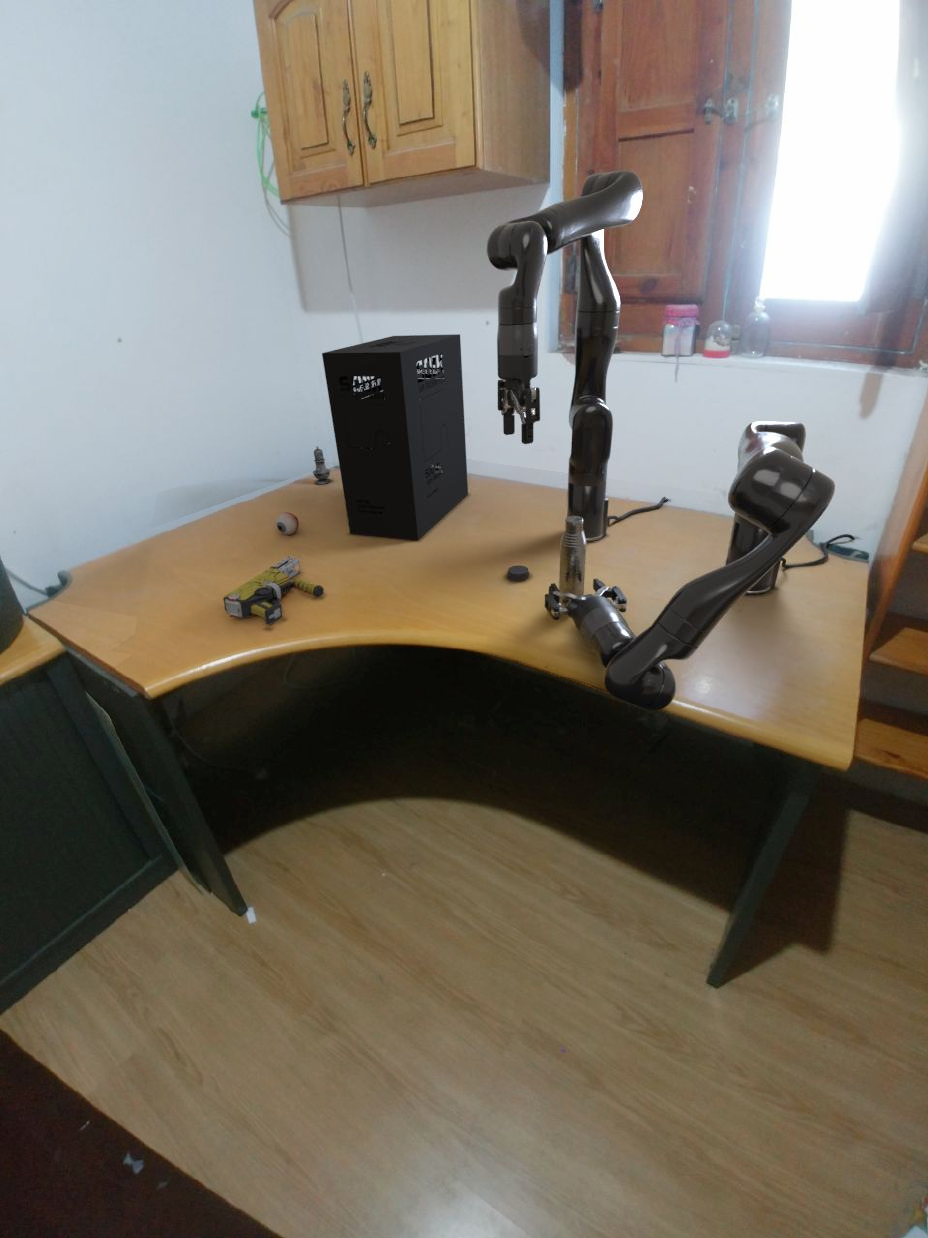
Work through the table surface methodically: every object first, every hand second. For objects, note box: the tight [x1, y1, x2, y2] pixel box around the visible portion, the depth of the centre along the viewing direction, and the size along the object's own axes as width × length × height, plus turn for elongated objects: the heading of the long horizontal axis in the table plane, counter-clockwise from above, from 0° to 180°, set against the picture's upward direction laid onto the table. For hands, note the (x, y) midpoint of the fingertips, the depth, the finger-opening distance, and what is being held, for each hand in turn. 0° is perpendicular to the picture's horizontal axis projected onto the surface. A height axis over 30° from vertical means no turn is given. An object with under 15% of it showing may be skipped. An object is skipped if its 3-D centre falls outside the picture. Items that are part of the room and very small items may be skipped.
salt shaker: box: [312, 446, 332, 485], centre depth 203 cm, size 6×6×12 cm
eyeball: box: [275, 511, 300, 536], centre depth 163 cm, size 6×6×6 cm
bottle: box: [558, 516, 587, 603], centre depth 118 cm, size 5×5×19 cm
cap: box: [507, 564, 530, 582], centre depth 135 cm, size 5×5×2 cm
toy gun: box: [222, 556, 324, 626], centre depth 131 cm, size 5×24×15 cm
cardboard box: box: [321, 333, 469, 541], centre depth 164 cm, size 38×20×45 cm, turn 159°
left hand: (518, 438), depth 120 cm, fingers open, 8 cm apart
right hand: (573, 585), depth 117 cm, fingers open, 8 cm apart
